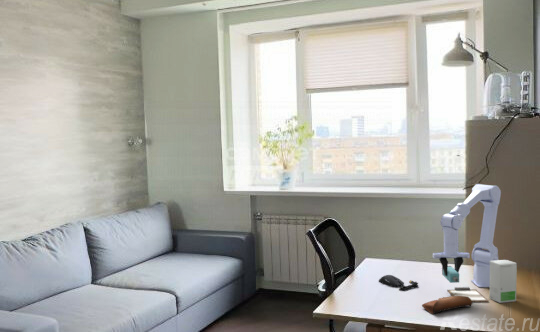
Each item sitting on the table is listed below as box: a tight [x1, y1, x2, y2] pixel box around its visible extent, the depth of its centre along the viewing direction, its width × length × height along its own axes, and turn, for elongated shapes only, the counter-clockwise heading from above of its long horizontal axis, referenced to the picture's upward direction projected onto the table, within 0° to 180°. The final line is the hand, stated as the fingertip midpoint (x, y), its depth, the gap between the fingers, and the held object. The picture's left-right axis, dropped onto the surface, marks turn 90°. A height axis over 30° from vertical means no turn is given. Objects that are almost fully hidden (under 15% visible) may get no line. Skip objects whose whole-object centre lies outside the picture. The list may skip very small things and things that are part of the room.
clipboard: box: [447, 286, 490, 303], centre depth 213 cm, size 14×12×2 cm
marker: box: [441, 265, 460, 284], centre depth 214 cm, size 15×4×4 cm, turn 177°
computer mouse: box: [378, 274, 419, 292], centre depth 232 cm, size 12×18×4 cm
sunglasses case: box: [421, 295, 473, 315], centre depth 200 cm, size 18×7×7 cm
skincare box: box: [488, 259, 518, 304], centre depth 208 cm, size 8×7×16 cm
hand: (451, 275), depth 215 cm, fingers closed on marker, 4 cm apart
